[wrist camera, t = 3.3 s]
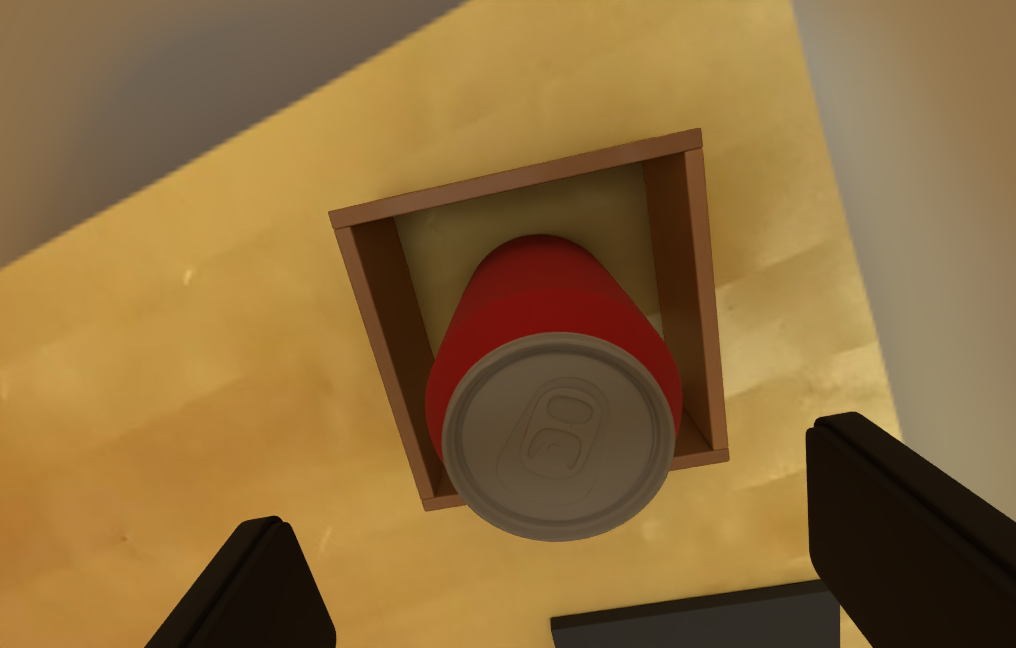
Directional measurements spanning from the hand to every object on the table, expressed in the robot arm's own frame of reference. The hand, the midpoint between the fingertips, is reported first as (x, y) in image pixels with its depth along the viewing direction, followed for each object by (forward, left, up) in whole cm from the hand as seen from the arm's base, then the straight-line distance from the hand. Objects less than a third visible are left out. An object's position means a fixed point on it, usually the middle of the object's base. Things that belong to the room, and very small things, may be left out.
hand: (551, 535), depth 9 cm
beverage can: (0, 0, -15) cm, 15 cm away
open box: (0, 0, -15) cm, 15 cm away
